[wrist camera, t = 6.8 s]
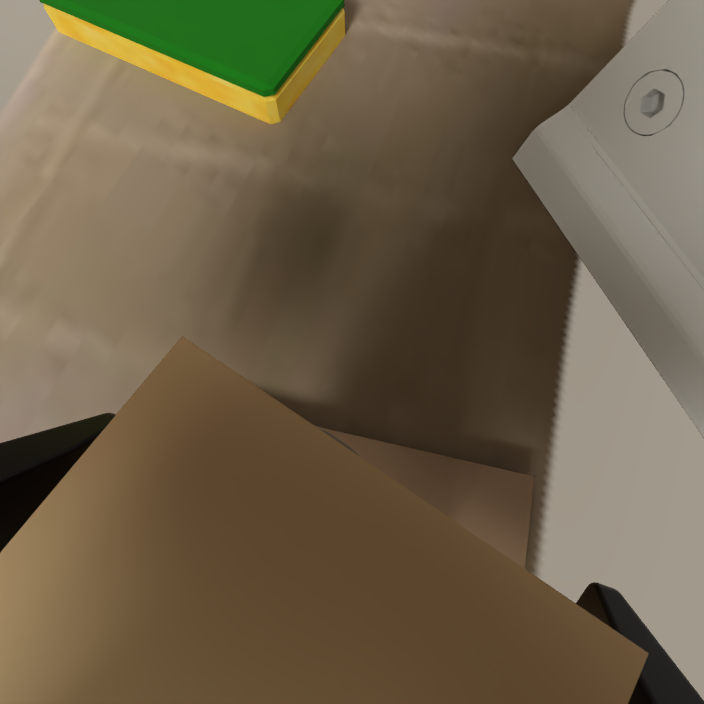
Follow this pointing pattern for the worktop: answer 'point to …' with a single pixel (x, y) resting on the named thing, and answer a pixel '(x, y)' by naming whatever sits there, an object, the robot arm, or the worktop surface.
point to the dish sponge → (215, 44)
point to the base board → (459, 490)
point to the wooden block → (272, 574)
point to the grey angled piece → (639, 190)
